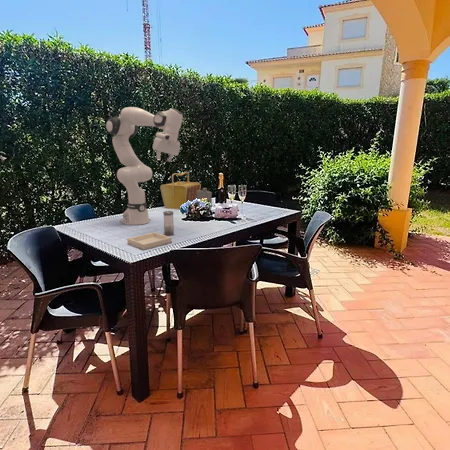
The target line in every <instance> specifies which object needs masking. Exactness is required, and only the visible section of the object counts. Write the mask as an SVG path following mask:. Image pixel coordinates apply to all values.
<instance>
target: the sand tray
mask: <svg viewBox="0 0 450 450" xmlns="http://www.w3.org/2000/svg"><path fill="white" fill-rule="evenodd" d="M168 243H169V244H172V243H173V239H172V236H165V234H161V233H159V232H155V231H154V232H150V233H145V234H142V235H137V236H133V237H128V238H127V245H130V246H133V247H135V248H136V249H137V248H138V249H139V250H142V251H146V250H147V251H148V250H151V249H155V248H158V247H161V246H164V245H168Z"/></svg>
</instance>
